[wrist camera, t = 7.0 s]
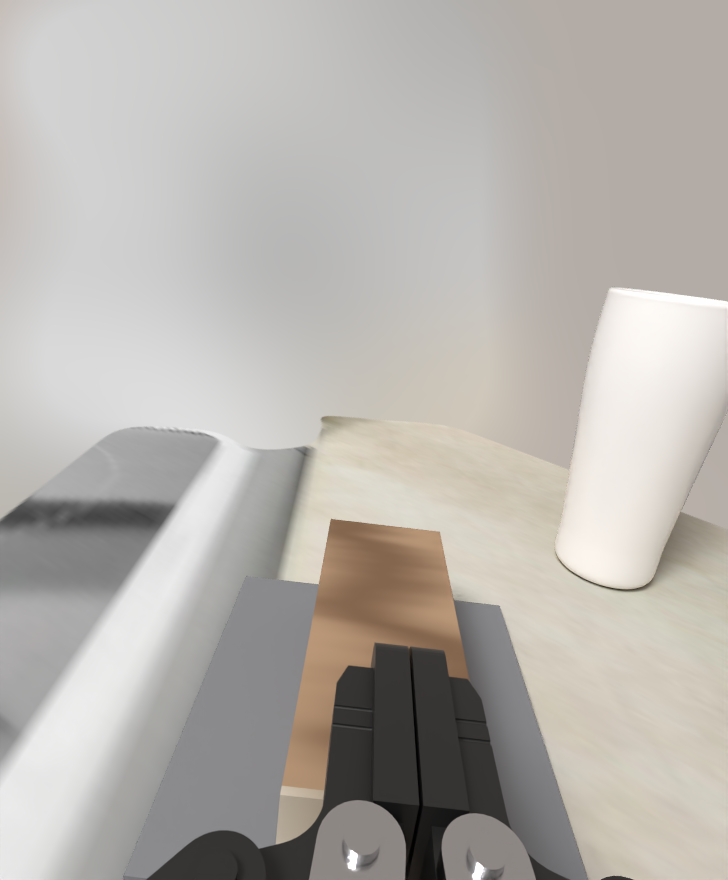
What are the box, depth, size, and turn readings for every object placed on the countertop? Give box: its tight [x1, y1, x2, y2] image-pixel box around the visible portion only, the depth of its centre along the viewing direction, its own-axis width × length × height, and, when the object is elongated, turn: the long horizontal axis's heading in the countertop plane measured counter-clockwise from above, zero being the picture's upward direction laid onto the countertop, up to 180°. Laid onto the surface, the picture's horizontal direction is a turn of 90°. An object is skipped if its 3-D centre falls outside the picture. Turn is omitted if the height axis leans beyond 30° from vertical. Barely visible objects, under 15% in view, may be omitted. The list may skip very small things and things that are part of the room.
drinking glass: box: [555, 287, 728, 589], centre depth 29 cm, size 7×7×15 cm
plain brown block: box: [276, 519, 470, 844], centre depth 18 cm, size 4×4×12 cm
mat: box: [123, 576, 588, 880], centre depth 20 cm, size 12×13×1 cm
